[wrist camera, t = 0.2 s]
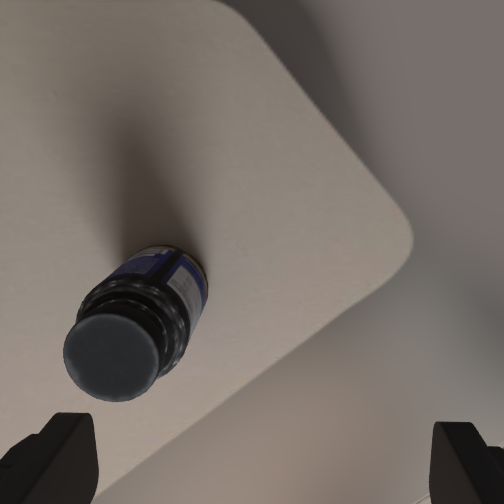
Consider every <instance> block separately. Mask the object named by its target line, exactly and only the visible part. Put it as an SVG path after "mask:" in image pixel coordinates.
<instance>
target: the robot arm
mask: <svg viewBox="0 0 504 504" xmlns="http://www.w3.org/2000/svg"><path fill="white" fill-rule="evenodd" d="M98 477H99V467H98V458H97V450H96V441H95V433H94V424H93V419H92V416H91V415H90V414H89V413H61V412H58V413H56V414H55V415H54V416H53V417H52V418H51V419H50V420H49V422H48V423H47V424H46V425H45V426H44V428H43V429H42V430H41V431H40V433H39V434H31V435H29V436H28V437H26V438H25V439H23V440H22V441H20V442H19V443H17V444H16V445H14V446H13V447H11V448H10V449H9V451H8V452H7V453H6V454H5V455H4V456H3V457H2V459H1V460H0V504H90V503H91V501H92V499H93V497H94V495H95V492H96V488H97V484H98ZM429 491H430V498H431V503H432V504H504V450H503V449H502V448H501V447H495V446H487V445H486V443H485V442H484V440H483V439H482V437H481V435H480V434H479V432H478V431H477V429H476V428H475V426H474V425H473V424H472V423H471V422H436V423H435V424H434V428H433V437H432V449H431V462H430V474H429Z"/></svg>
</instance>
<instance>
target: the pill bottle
mask: <svg viewBox="0 0 504 504" xmlns="http://www.w3.org/2000/svg"><path fill="white" fill-rule="evenodd" d="M207 297H208V282H207V279H206V275H205V273H204V271H203V268H202V266H201V265H200V264H199V263H198V262H197V261H196V260H195V259H194V258H193V257H192V256H191V255H190V254H188V253H186V252H184V251H182V250H180V249H179V248H176V247H173V246H167V245H155V246H151V247H148V248H145V249H142V250H140V251H138V252H137V253H136V254H134V255H133V256H132V257H131V258H130V259H129V260H127V261H126V262H125V263H124V264H122V265H121V266H120V267H119V268H118V269H117V270H115V271H114V272H113V273H112V274H111V275H109V276H108V277H107V278H106V279H105V280H103V281H102V282H101V283H100V284H99V285H97V286H96V287H95V288H93V289H92V291H90V293H89V294H88V295H87V296H86V297H85V299H84V301H82V304H81V306H80V308H79V310H78V313H77V318H76V323H75V325H74V326H73V327H72V329H71V330H70V332H69V333H68V335H67V337H66V340H65V342H64V348H63V358H64V363H65V366H66V369H67V372H68V373H69V375H70V377H71V379H72V380H73V381H74V383H76V385H77V386H78V387H79V388H80V389H82V390H83V391H84V392H86V393H87V394H89V395H91V396H93V397H95V398H97V399H101V400H104V401H110V402H123V401H129V400H132V399H134V398H136V397H138V396H140V395H142V394H143V393H145V392H146V391H147V390H148V389H149V388H150V387H151V386H152V385H153V383H154V382H155V380H156V379H158V378H160V377H162V376H164V375H165V374H167V373H168V372H170V370H172V369H173V368H174V367H175V366H176V365H177V363H178V362H179V361H180V359H181V358H182V356H183V354H184V352H185V350H186V347H187V345H188V342H189V340H190V338H191V335H192V333H193V331H194V329H195V327H196V324H197V322H198V320H199V317H200V315H201V313H202V311H203V309H204V306H205V304H206V301H207Z"/></svg>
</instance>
